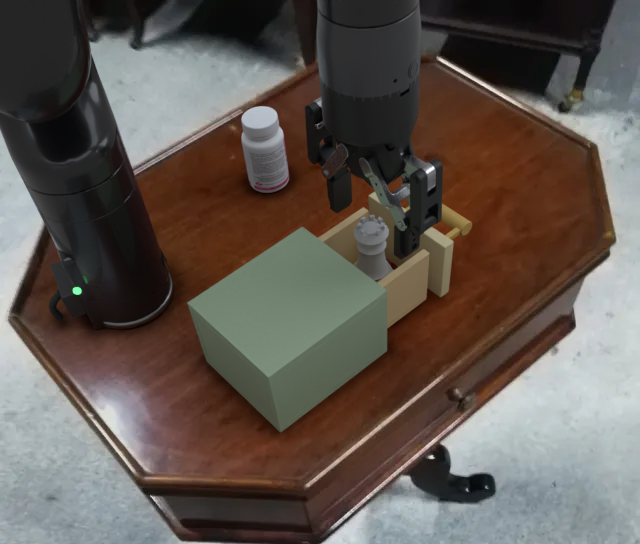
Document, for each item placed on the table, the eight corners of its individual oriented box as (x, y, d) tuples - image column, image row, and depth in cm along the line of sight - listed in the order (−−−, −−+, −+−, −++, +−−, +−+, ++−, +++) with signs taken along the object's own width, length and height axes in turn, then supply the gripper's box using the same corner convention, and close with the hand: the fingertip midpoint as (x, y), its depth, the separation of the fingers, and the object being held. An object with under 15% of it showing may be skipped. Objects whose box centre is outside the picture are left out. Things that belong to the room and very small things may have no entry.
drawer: (410, 217, 81) (412, 165, 75) (482, 266, 77) (490, 214, 71) (288, 303, 76) (280, 254, 70) (357, 360, 71) (355, 313, 65)
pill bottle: (298, 179, 87) (290, 115, 80) (267, 200, 86) (256, 136, 79) (271, 161, 89) (262, 98, 82) (241, 181, 88) (228, 118, 81)
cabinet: (309, 288, 78) (302, 225, 71) (387, 351, 73) (387, 290, 65) (206, 361, 74) (186, 302, 66) (280, 433, 68) (268, 377, 61)
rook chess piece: (388, 305, 73) (388, 245, 66) (344, 297, 74) (340, 237, 67) (399, 273, 75) (400, 211, 69) (356, 265, 76) (354, 204, 70)
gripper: (269, 48, 57) (292, 213, 71) (401, 127, 51) (397, 292, 64) (342, 7, 59) (350, 175, 73) (476, 78, 53) (458, 247, 66)
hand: (372, 229), depth 69 cm, fingers open, 8 cm apart
